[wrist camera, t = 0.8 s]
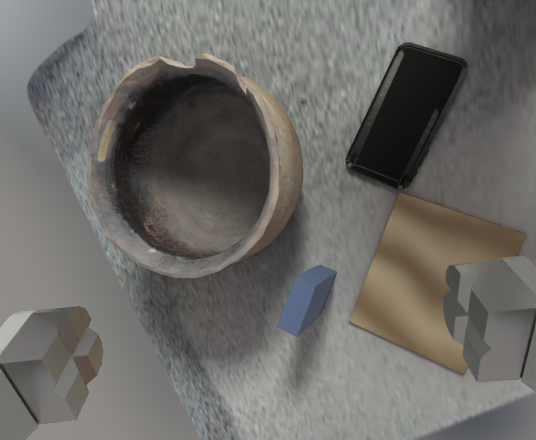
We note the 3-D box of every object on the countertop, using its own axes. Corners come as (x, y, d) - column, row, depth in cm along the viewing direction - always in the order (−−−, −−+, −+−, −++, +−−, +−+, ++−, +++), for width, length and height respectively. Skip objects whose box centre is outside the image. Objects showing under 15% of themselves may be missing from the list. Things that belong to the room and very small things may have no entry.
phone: (342, 164, 47) (401, 39, 44) (344, 166, 48) (401, 43, 45) (406, 192, 44) (473, 61, 41) (407, 193, 45) (471, 65, 43)
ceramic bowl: (345, 116, 47) (313, 74, 33) (291, 287, 50) (240, 315, 36) (191, 80, 55) (111, 33, 41) (150, 230, 57) (63, 235, 43)
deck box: (319, 264, 48) (295, 276, 39) (336, 271, 48) (316, 285, 38) (304, 305, 49) (277, 327, 40) (320, 313, 48) (296, 337, 39)
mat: (399, 192, 45) (399, 192, 45) (525, 234, 41) (526, 234, 40) (349, 320, 47) (348, 321, 47) (463, 373, 43) (463, 374, 42)
